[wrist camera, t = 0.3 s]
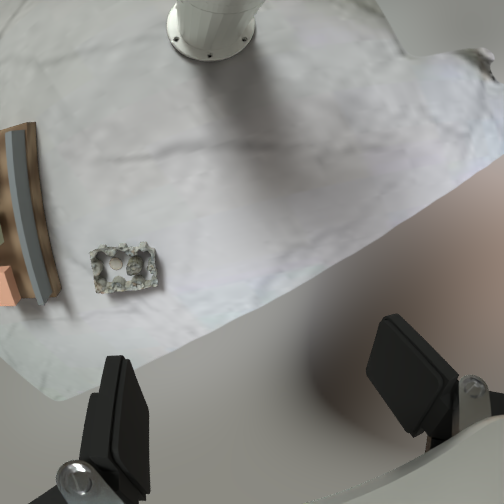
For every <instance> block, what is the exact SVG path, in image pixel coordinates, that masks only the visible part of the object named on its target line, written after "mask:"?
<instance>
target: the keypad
mask: <svg viewBox="0 0 504 504" xmlns="http://www.w3.org/2000/svg"><path fill="white" fill-rule="evenodd" d="M0 225H1V229H2V234H3V238H4V243H2V244H1V245H0V266H11V268H12V272H13V275H14V278H15V281H16V285H17V288H18V291H19V293H20V296H21V298H36V300H37V303H38V305H45V303H46V302H47V300H48V298H49V297H57V295H58V293H59V292H60V290H61V284H60V281H59V277H58V273H57V270H56V266H55V262H54V258H53V254H52V249H51V245H50V240H49V235H48V230H47V225H46V220H45V214H44V208H43V202H42V195H41V188H40V179H39V170H38V159H37V145H36V122H26V123H23V124H20V125H16V126H13V127H10V128H6V129H3V130H0Z"/></svg>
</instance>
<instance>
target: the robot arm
mask: <svg viewBox="0 0 504 504" xmlns="http://www.w3.org/2000/svg"><path fill="white" fill-rule="evenodd" d="M264 1H265V0H177V3H176V4H175V5H174V6H173V8H172V9H171V11H170V13H169V15H168V18H167V23H166V25H167V34H168V37H169V40H170V42H171V43H172V45H173V46H174V47H175V48H176V49H177V50H178V51H179V52H180V53H181V54H183V55H185V56H187V57H189V58H192V59H194V60H199V61H209V62H212V61H220V60H224V59H227V58H230V57H232V56H234V55H236V54H237V53H239V52H240V51H241V50H242V49H243V48H244V47H245V46H246V45H247V44H248V43H249V42H250V40H251V38H252V36H253V33H254V29H255V19H254V15H255V14H256V13H257V11H258V10H259V8H260V7H261V6H262V4H263V3H264ZM175 40H178V42H175ZM242 40H245V42H243V41H242ZM208 55H211V58H209V57H208ZM366 374H367V376H368V378H369V379H370V381H371V382H372V384H373V385H374V386H375V388H376V389H377V391H378V392H379V394H380V395H381V396H382V398H383V399H384V401H385V402H386V403H387V405H388V407H389V408H390V409H391V411H392V412H393V414H394V415H395V416H396V418H397V419H398V421H399V422H400V424H401V425H402V427H403V428H404V430H405V431H406V432H407V433H410V434H411V435H412V437H413V438H414V437H416V436H418V435H420V434H422V433H423V432H424V431H425V432H426V433H427V441H426V448H425V453H424V454H423V455H421V456H419V457H417V458H415V459H414V460H412V461H410V462H408V463H406V464H404V465H402V466H400V467H398V468H396V469H394V470H392V471H390V472H387V473H385V474H383V475H381V476H379V477H376V478H374V479H372V480H370V481H367V482H365V483H362V484H360V485H357V486H355V487H352V488H350V489H347V490H344V491H342V492H339V493H336V494H333V495H330V496H327V497H324V498H321V499H318V500H314V501H311V502H307V503H304V504H504V394H503V393H497V392H492V391H489V389H488V386H487V384H486V383H485V381H484V380H483V379H481V378H480V377H478V376H475V375H466V376H464V377H462V378H461V380H460V381H458V380H457V378H458V376H459V374H458V373H457V372H456V371H455V370H454V369H453V368H452V367H451V366H450V365H449V364H448V363H447V362H446V361H445V360H444V359H443V358H442V357H441V356H440V355H439V354H438V353H437V352H436V351H435V350H434V349H433V348H432V347H431V346H430V345H429V343H427V341H426V340H424V338H423V337H422V336H420V335H419V334H418V333H417V332H416V331H415V330H414V329H413V328H412V327H411V326H410V325H409V324H408V323H407V322H406V321H405V320H404V319H403V318H402V317H401V316H400V315H399V314H392V315H389V316H385V317H384V318H383V319H382V321H381V322H380V323H379V327H378V330H377V334H376V337H375V341H374V344H373V348H372V351H371V355H370V358H369V361H368V364H367V367H366ZM149 471H150V467H149V410H148V406H147V404H146V401H145V399H144V396H143V394H142V391H141V389H140V386H139V384H138V381H137V379H136V376H135V373H134V370H133V367H132V364H131V362H130V360H129V359H125V358H124V356H123V355H119V356H107V358H106V361H105V365H104V370H103V374H102V379H101V384H100V389H99V393H92V394H91V396H90V399H89V403H88V408H87V414H86V419H85V424H84V430H83V436H82V443H81V449H80V457H79V460H71V461H68V462H65V463H64V464H63V465H62V466H61V467H60V468H59V469H58V471H57V475H56V484H57V485H56V486H54V487H53V488H51V489H50V490H48V491H47V492H45V493H44V494H43V495H41V496H39V497H38V498H36V499H35V500H33V501H32V502H30V503H29V504H139V501H141V500H142V501H146V494H150V472H149Z"/></svg>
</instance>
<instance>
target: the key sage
mask: <svg viewBox="0 0 504 504" xmlns="http://www.w3.org/2000/svg"><path fill="white" fill-rule="evenodd" d="M2 243H4V238H3V234H2V229H1V225H0V245H1V244H2Z"/></svg>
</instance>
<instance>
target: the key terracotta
mask: <svg viewBox="0 0 504 504" xmlns="http://www.w3.org/2000/svg"><path fill="white" fill-rule="evenodd" d="M20 299H21V296H20V293H19V291H18V288H17V285H16V281H15V278H14V275H13V272H12V268H11V266H0V306H16V305H17V303H18V302H19V301H20Z"/></svg>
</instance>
